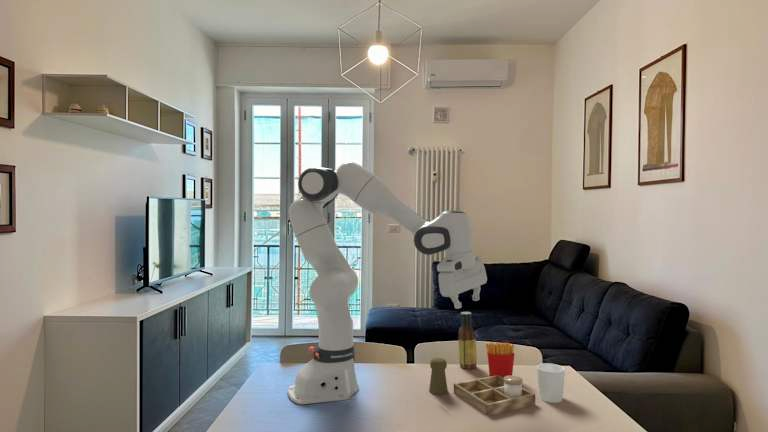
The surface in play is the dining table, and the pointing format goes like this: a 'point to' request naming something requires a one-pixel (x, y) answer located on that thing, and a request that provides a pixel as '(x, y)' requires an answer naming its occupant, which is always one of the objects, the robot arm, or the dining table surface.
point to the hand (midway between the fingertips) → (467, 304)
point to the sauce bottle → (467, 342)
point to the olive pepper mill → (438, 377)
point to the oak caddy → (491, 395)
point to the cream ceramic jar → (513, 386)
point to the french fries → (500, 359)
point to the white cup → (550, 382)
